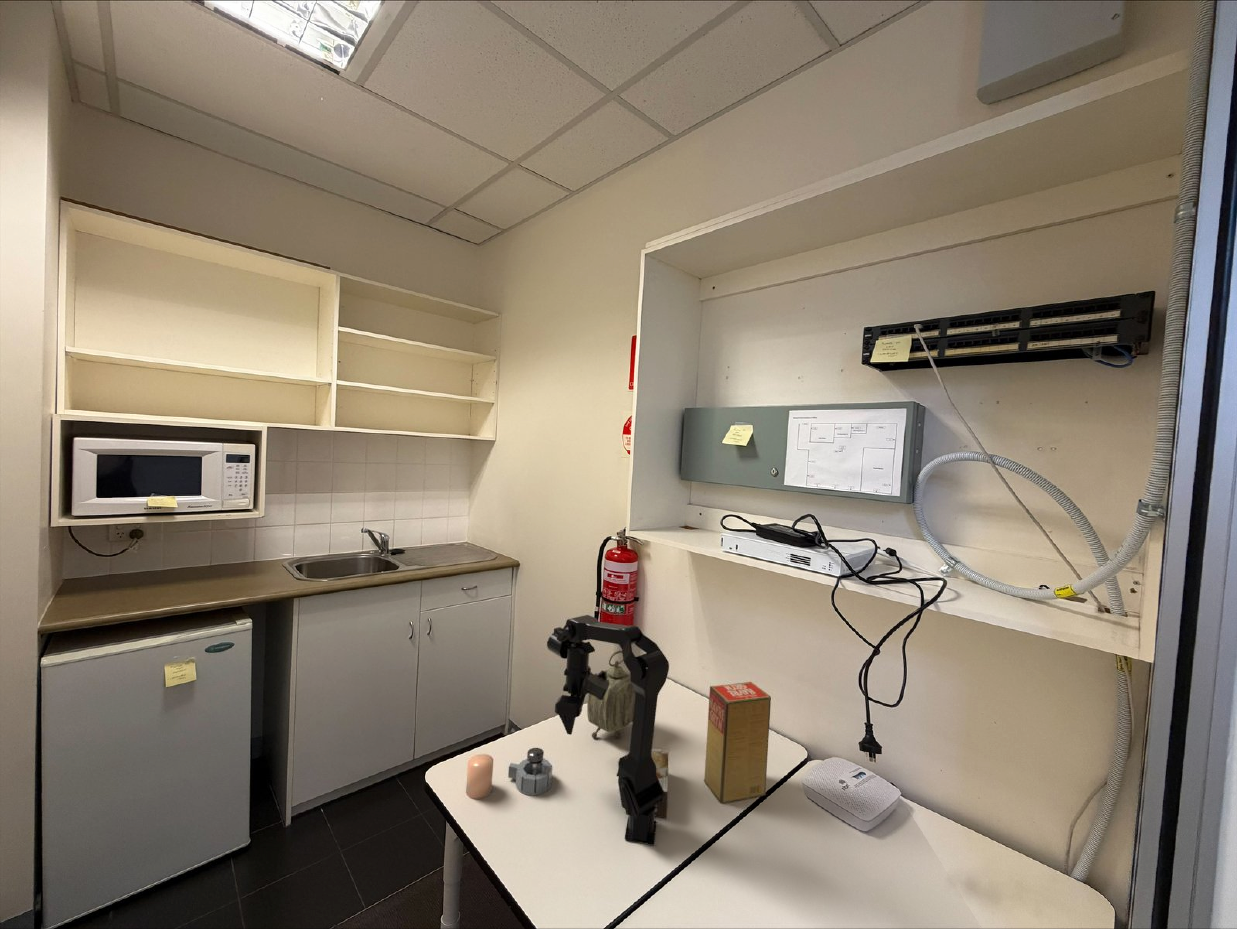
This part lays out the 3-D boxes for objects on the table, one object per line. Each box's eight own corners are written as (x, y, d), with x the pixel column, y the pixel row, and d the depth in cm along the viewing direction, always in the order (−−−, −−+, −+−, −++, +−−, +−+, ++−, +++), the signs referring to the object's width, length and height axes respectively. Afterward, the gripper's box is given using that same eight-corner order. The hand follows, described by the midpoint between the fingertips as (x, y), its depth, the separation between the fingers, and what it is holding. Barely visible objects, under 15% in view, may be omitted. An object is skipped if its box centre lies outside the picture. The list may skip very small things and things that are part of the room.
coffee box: (633, 769, 128) (626, 813, 112) (635, 745, 128) (628, 785, 112) (668, 774, 127) (666, 819, 111) (669, 750, 126) (668, 791, 111)
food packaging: (746, 771, 129) (752, 680, 129) (767, 795, 120) (774, 697, 120) (702, 779, 125) (708, 685, 125) (720, 805, 116) (727, 703, 116)
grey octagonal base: (545, 798, 115) (546, 782, 115) (502, 790, 117) (503, 775, 117) (555, 774, 124) (556, 760, 124) (515, 767, 125) (516, 753, 125)
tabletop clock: (617, 719, 151) (622, 641, 151) (640, 731, 145) (645, 650, 145) (585, 738, 140) (590, 653, 140) (608, 752, 134) (613, 663, 134)
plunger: (539, 786, 117) (541, 759, 117) (522, 783, 118) (524, 756, 118) (545, 775, 122) (546, 748, 122) (528, 772, 122) (530, 746, 122)
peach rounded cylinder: (485, 800, 113) (487, 771, 113) (461, 796, 114) (463, 767, 114) (495, 783, 119) (497, 756, 119) (472, 780, 120) (474, 752, 120)
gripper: (601, 685, 114) (597, 750, 115) (613, 654, 133) (610, 710, 133) (556, 679, 116) (552, 743, 116) (574, 649, 134) (571, 704, 135)
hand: (573, 724), depth 125 cm, fingers open, 9 cm apart
